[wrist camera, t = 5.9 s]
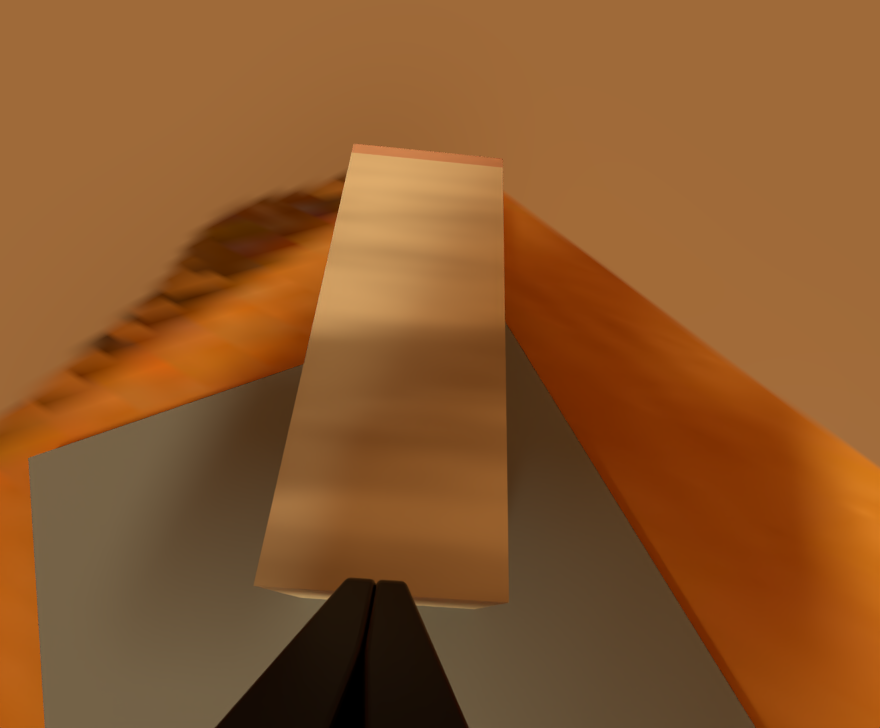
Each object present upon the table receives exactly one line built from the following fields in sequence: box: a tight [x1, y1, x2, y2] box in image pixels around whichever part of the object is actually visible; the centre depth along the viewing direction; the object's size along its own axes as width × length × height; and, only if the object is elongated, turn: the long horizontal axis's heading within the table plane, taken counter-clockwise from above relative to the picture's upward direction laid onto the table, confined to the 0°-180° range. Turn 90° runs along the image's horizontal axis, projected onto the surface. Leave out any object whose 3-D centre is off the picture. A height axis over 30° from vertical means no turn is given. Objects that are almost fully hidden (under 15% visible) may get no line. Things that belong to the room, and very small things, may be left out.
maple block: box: [253, 144, 509, 609], centre depth 13 cm, size 4×4×12 cm
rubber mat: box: [28, 322, 755, 728], centre depth 12 cm, size 15×19×1 cm
